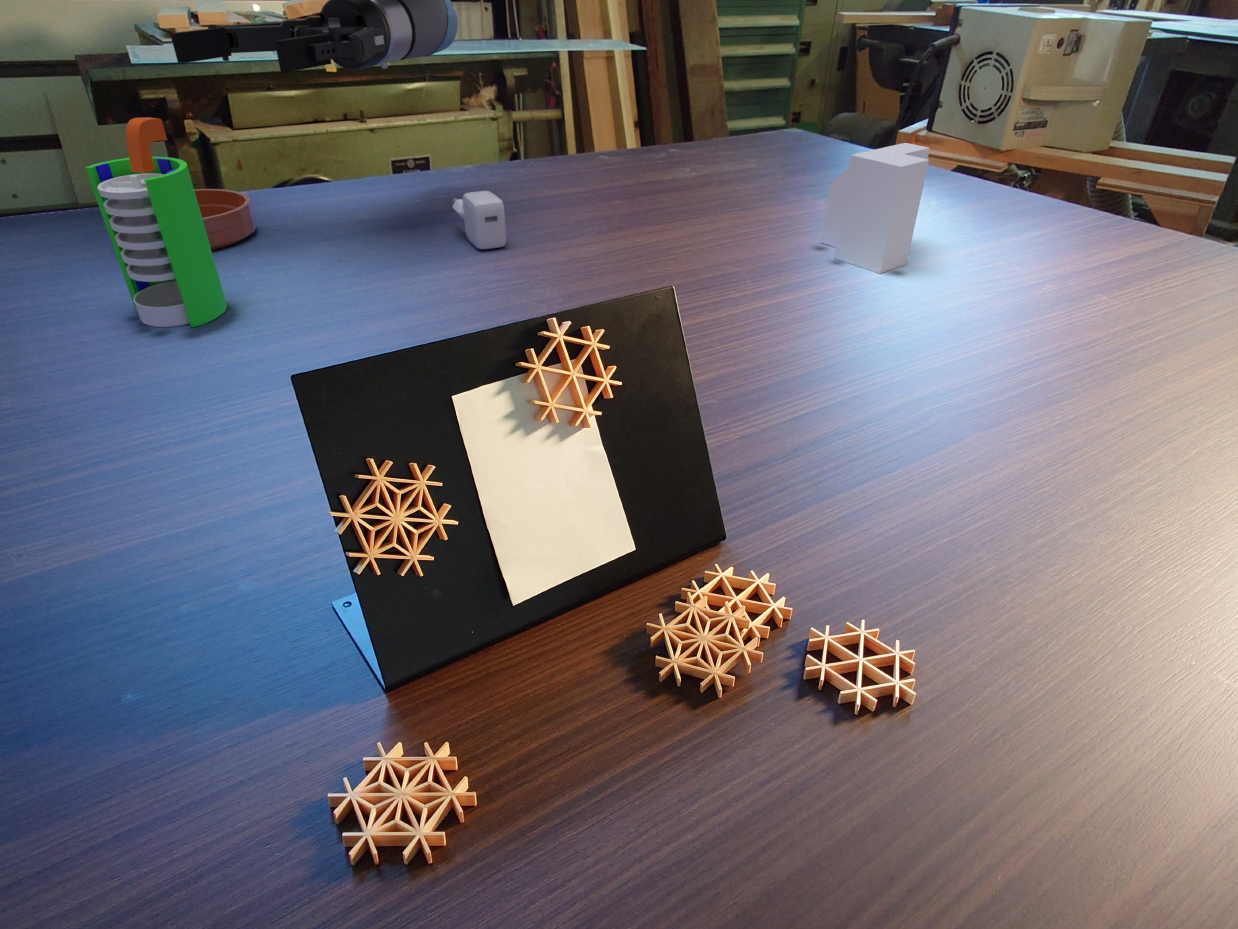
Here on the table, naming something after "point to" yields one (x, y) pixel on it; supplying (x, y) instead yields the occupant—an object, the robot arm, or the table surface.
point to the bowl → (225, 216)
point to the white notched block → (876, 206)
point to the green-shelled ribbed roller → (158, 232)
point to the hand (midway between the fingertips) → (226, 52)
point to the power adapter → (482, 219)
